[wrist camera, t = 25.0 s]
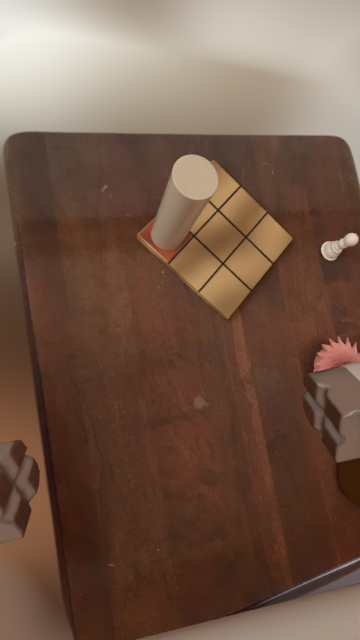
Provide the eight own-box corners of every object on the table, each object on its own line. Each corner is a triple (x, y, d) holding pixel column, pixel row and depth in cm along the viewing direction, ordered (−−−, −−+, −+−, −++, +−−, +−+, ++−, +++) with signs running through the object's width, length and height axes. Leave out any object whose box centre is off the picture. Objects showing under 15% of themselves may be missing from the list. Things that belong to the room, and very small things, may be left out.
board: (136, 238, 36) (136, 234, 35) (210, 163, 40) (213, 158, 39) (224, 320, 38) (228, 319, 37) (288, 241, 41) (293, 238, 40)
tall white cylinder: (143, 234, 35) (162, 174, 24) (165, 212, 36) (192, 144, 25) (168, 257, 36) (198, 209, 24) (189, 235, 37) (227, 179, 25)
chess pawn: (326, 264, 42) (354, 252, 38) (316, 246, 42) (343, 232, 38) (340, 255, 43) (369, 243, 38) (330, 238, 43) (359, 223, 38)
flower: (345, 399, 41) (382, 406, 35) (294, 394, 39) (324, 400, 33) (347, 342, 42) (383, 340, 36) (297, 334, 40) (327, 330, 35)
